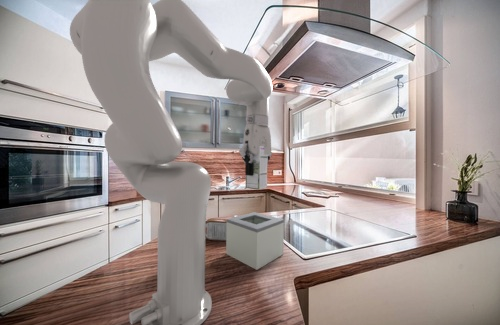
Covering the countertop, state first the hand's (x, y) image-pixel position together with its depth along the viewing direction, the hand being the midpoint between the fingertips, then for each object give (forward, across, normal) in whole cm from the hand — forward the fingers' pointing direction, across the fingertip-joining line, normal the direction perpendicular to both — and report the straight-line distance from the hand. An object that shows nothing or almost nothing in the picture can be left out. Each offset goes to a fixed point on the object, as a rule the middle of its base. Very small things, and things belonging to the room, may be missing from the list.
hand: (256, 174), depth 67 cm
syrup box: (+5, 0, 0) cm, 5 cm away
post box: (+28, 0, 0) cm, 28 cm away
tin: (+28, -1, +18) cm, 33 cm away
